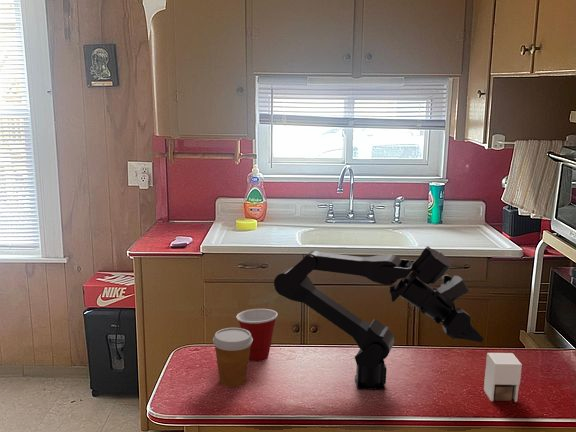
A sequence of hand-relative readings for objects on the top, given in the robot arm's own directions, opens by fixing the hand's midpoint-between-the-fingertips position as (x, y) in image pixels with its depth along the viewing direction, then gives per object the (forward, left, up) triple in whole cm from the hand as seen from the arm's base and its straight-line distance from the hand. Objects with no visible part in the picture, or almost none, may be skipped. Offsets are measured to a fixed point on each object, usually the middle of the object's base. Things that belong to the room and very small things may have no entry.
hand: (476, 334), depth 143 cm
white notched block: (+7, -1, -15) cm, 16 cm away
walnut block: (+7, -1, -15) cm, 16 cm away
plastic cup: (-51, +18, -15) cm, 56 cm away
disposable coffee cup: (-56, +4, -15) cm, 59 cm away
